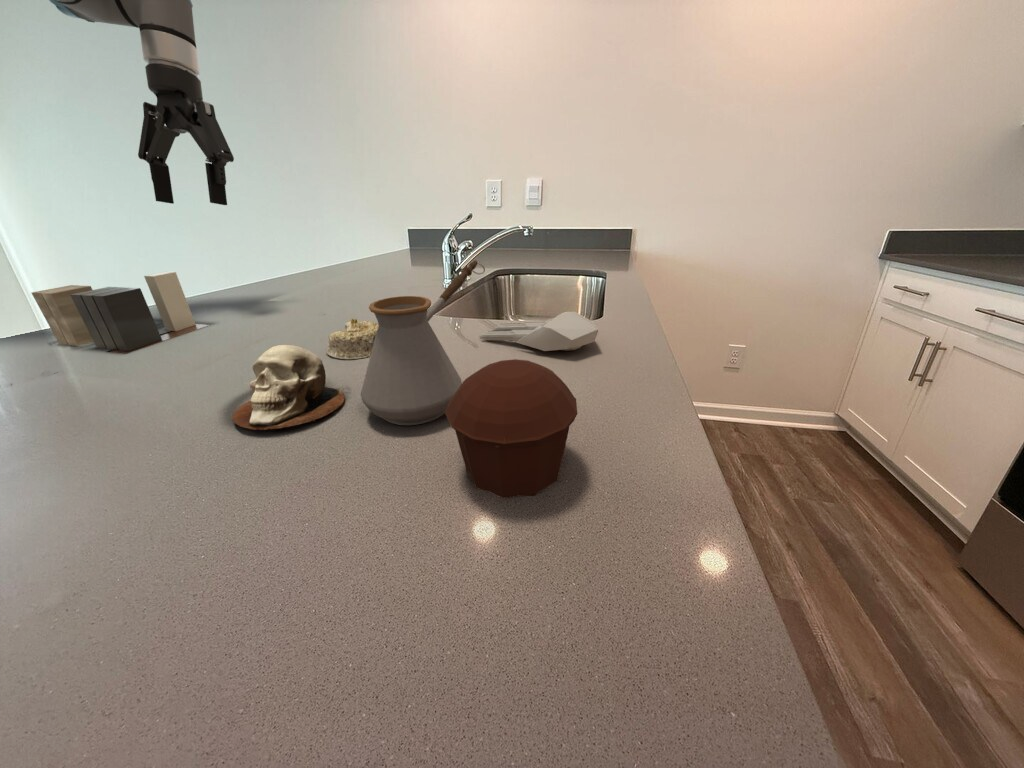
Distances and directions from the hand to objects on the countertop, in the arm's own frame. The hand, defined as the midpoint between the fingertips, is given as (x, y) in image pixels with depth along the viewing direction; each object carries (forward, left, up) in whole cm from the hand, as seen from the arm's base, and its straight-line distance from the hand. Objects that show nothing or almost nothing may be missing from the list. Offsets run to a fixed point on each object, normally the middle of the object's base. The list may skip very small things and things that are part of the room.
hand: (191, 203), depth 76 cm
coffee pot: (+58, -23, -22) cm, 67 cm away
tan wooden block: (-10, -16, -22) cm, 29 cm away
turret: (+67, -3, -22) cm, 71 cm away
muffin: (+71, -36, -22) cm, 83 cm away
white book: (0, -11, -21) cm, 23 cm away
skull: (+42, -31, -22) cm, 57 cm away
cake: (+38, -11, -22) cm, 46 cm away
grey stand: (0, -16, -22) cm, 27 cm away
